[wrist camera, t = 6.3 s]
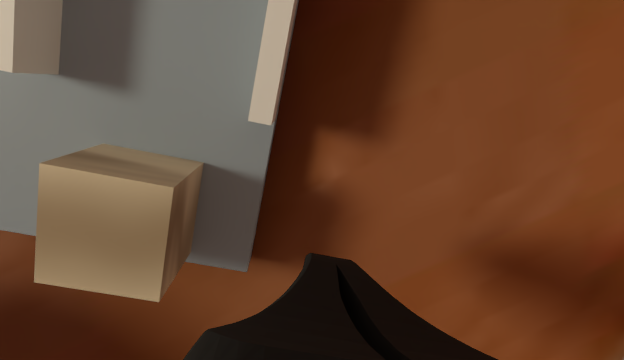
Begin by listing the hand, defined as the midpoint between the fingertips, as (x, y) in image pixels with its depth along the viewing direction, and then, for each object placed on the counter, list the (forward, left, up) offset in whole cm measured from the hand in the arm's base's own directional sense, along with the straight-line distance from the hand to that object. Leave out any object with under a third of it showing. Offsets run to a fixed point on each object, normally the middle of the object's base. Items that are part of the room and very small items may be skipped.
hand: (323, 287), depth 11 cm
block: (0, +7, -6) cm, 9 cm away
